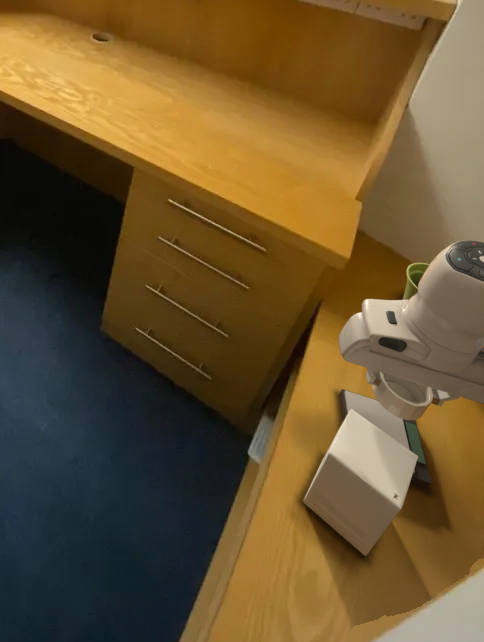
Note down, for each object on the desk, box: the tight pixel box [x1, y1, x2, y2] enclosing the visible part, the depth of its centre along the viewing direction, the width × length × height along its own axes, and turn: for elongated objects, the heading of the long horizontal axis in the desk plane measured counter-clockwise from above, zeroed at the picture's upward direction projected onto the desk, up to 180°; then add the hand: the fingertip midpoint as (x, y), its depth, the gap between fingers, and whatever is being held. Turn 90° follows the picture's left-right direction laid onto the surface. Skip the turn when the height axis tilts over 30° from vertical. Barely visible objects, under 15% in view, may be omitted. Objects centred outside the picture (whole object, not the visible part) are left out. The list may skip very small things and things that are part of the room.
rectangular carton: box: [303, 409, 418, 557], centre depth 74 cm, size 9×9×15 cm
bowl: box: [371, 372, 433, 421], centre depth 79 cm, size 7×7×4 cm
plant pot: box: [402, 262, 431, 300], centre depth 104 cm, size 9×9×9 cm
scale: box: [338, 388, 433, 490], centre depth 84 cm, size 11×11×3 cm
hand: (401, 390), depth 78 cm, fingers closed on bowl, 7 cm apart
